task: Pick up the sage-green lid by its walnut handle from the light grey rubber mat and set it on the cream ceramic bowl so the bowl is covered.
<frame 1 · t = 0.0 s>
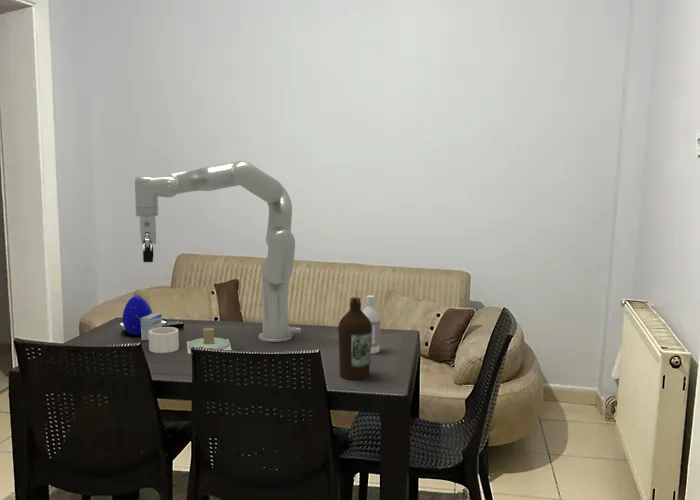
hand: (148, 259, 248), 31 cm above the table, tool pointing down, fingers open, 9 cm apart
bath foam: (369, 351, 248), on the table
mat: (208, 347, 251), on the table
bowl: (164, 350, 247), on the table
lid: (208, 346, 251), resting on mat
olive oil: (354, 375, 222), on the table
medicine box: (151, 338, 262), on the table
ornament: (137, 334, 267), on the table
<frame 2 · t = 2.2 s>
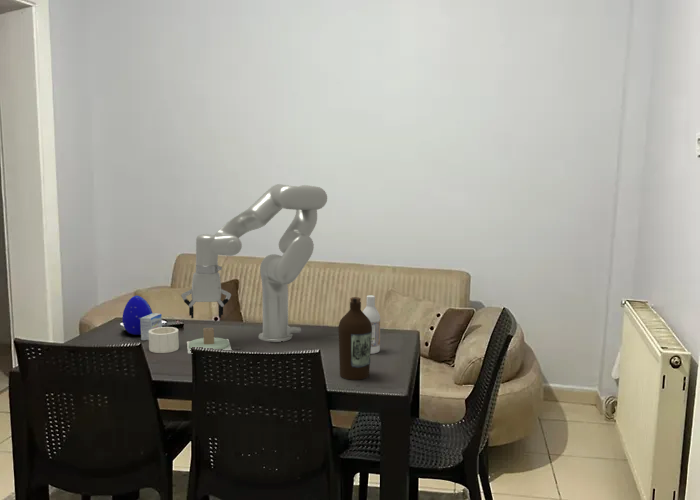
hand: (206, 317, 249), 11 cm above the table, tool pointing down, fingers open, 9 cm apart
nothing on the table moved.
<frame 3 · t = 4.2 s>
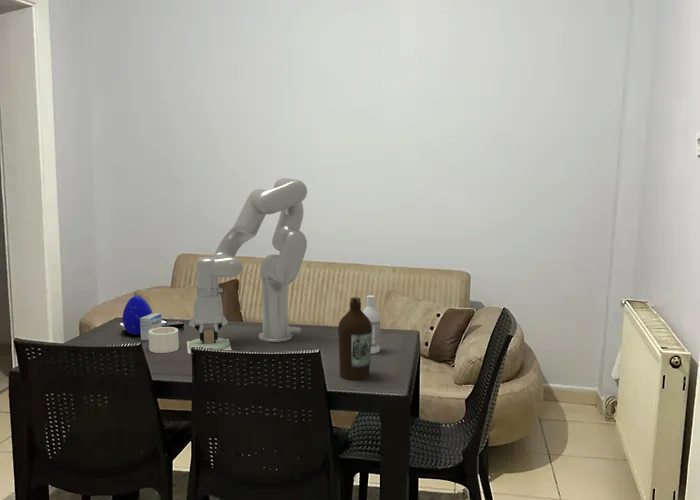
hand: (208, 341, 250), 2 cm above the table, tool pointing down, fingers closed on lid, 3 cm apart
lid: (208, 345, 251), point 1 cm above the table, touching gripper, mat
everything else where it was.
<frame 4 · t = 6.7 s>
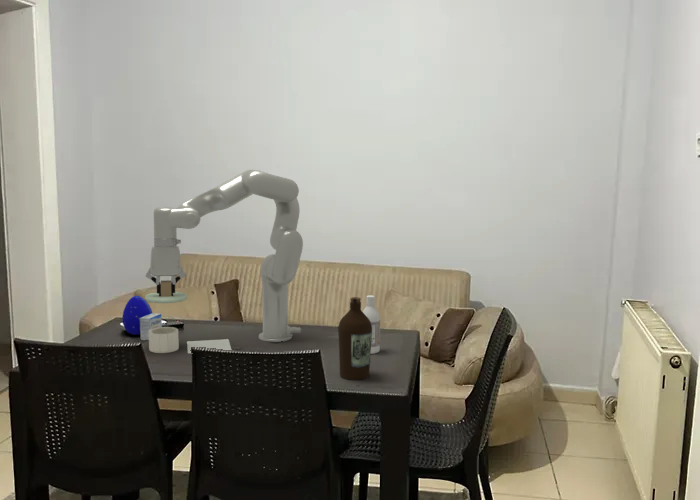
hand: (166, 294, 244), 20 cm above the table, tool pointing down, fingers closed on lid, 3 cm apart
lid: (166, 298, 244), point 18 cm above the table, touching gripper
everything else where it was.
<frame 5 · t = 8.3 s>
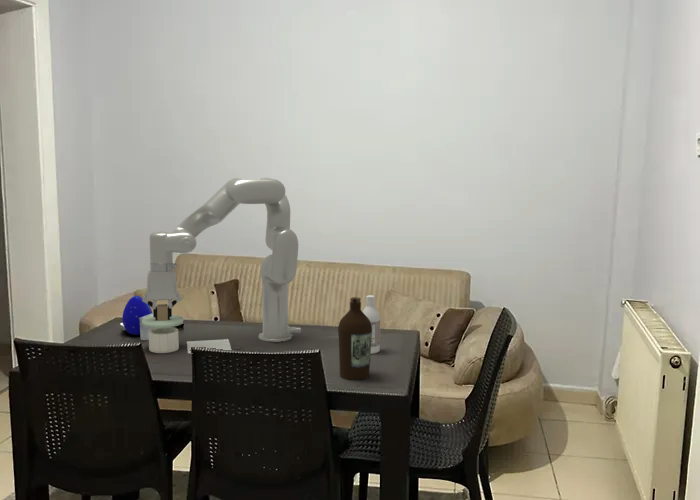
hand: (162, 318, 245), 11 cm above the table, tool pointing down, fingers closed on lid, 3 cm apart
lid: (162, 322, 245), point 10 cm above the table, touching gripper
medicine box: (151, 338, 262), on the table, touching ornament
ornament: (137, 334, 267), on the table, touching medicine box
everything else where it was.
when the fingers open (9 cm above the table, at t = 9.4 s): lid drops 1 cm, resting on bowl.
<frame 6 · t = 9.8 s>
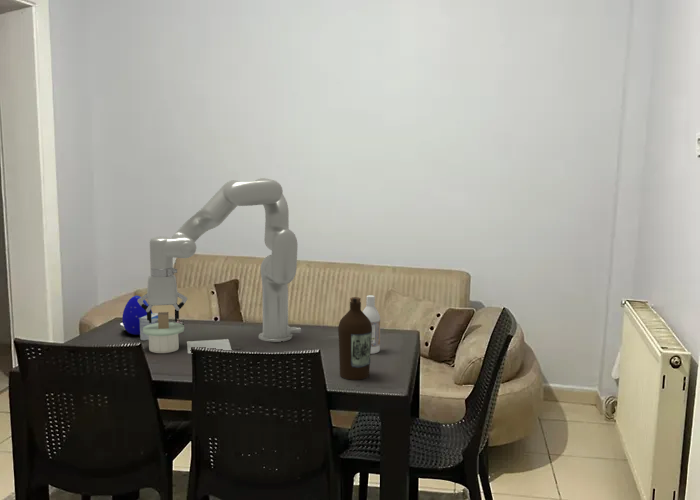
hand: (163, 321, 245), 10 cm above the table, tool pointing down, fingers open, 8 cm apart
lid: (163, 330, 246), point 7 cm above the table, touching bowl
medicine box: (151, 338, 262), on the table
ornament: (137, 334, 267), on the table
everything else where it was.
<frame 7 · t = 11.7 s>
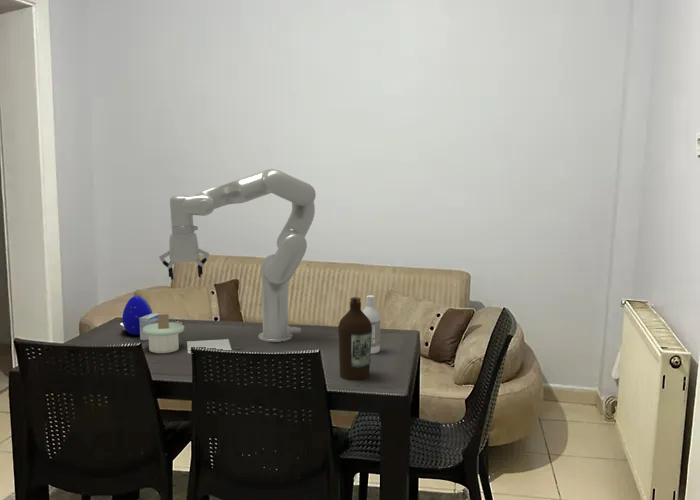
hand: (185, 277, 251), 24 cm above the table, tool pointing down, fingers open, 9 cm apart
nothing on the table moved.
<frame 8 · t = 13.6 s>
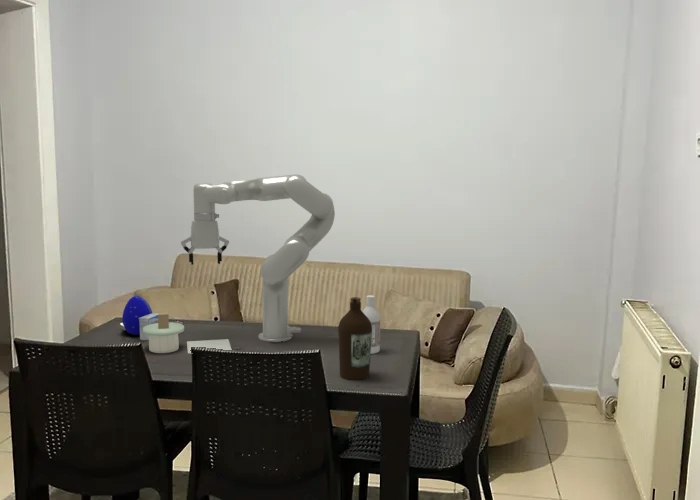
hand: (205, 263, 258), 28 cm above the table, tool pointing down, fingers open, 9 cm apart
nothing on the table moved.
at the end: lid 0.1 cm off-centre on the bowl, point 7.0 cm above the bowl's base; lid tilted 0°; the gripper is holding nothing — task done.
